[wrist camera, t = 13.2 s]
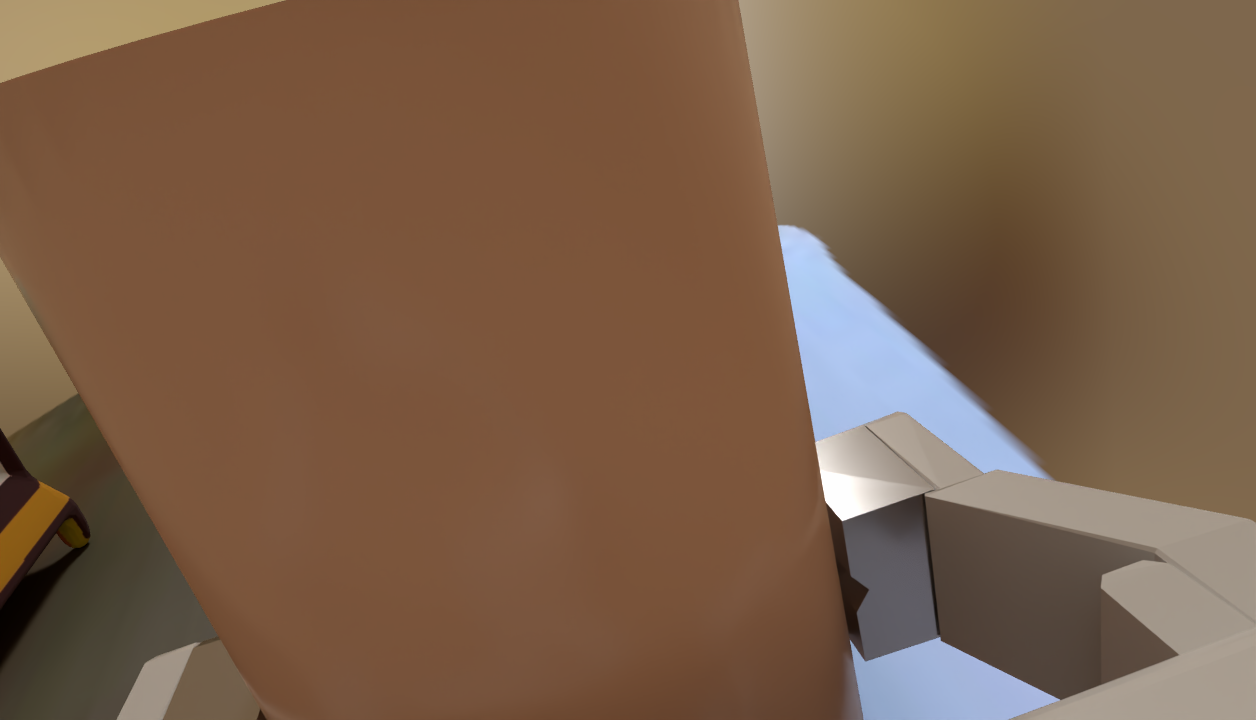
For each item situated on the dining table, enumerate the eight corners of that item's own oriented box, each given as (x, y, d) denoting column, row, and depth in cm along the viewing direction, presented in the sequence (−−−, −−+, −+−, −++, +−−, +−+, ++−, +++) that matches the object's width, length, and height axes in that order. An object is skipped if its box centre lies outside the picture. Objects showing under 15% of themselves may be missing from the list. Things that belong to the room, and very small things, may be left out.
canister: (560, 1442, 9) (-377, 169, 3) (520, 935, 14) (123, 97, 8) (1021, 1239, 9) (877, -152, 4) (820, 821, 14) (634, -38, 9)
